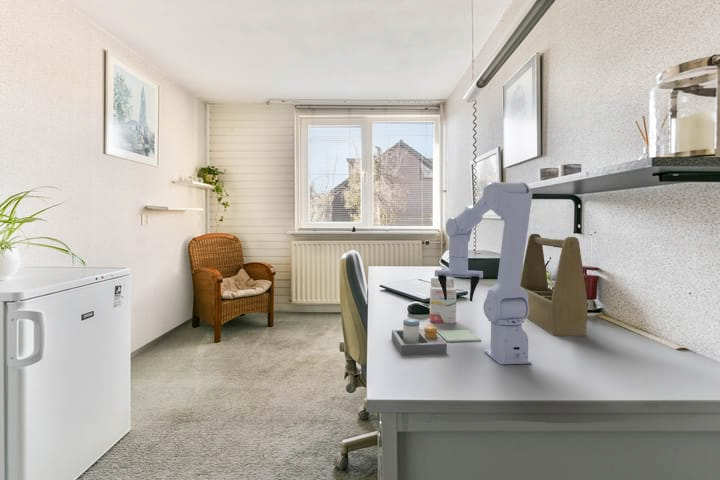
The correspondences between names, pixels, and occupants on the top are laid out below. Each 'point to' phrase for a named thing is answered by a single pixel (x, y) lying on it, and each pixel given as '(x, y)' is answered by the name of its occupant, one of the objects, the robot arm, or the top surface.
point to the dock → (419, 344)
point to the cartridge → (410, 331)
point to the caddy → (556, 287)
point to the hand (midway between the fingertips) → (458, 300)
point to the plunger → (430, 332)
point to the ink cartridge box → (442, 302)
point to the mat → (458, 336)
